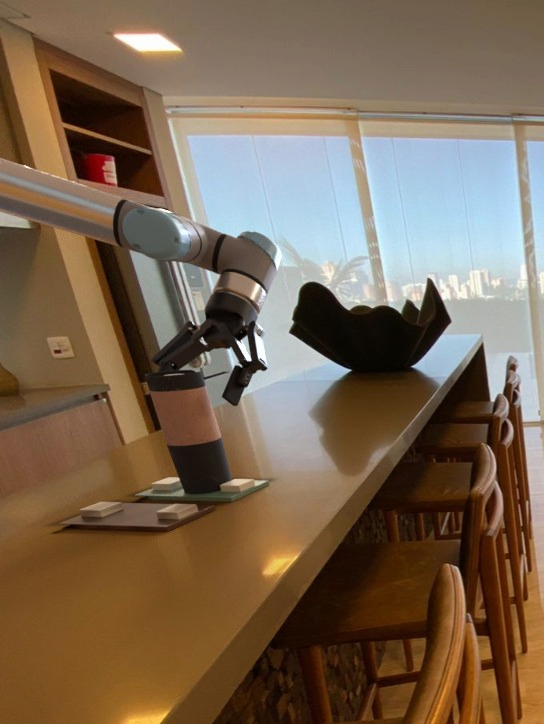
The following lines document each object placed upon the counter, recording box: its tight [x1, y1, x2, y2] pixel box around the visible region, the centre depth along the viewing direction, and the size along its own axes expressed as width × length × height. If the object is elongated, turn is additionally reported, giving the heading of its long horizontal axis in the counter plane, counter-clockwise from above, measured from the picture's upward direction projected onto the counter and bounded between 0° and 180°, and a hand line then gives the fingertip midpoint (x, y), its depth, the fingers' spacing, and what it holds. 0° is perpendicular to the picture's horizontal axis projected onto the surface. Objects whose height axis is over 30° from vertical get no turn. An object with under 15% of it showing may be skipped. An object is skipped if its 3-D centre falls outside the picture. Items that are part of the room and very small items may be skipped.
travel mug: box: [144, 369, 233, 494], centre depth 96 cm, size 8×8×20 cm
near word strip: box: [59, 501, 216, 533], centre depth 88 cm, size 18×9×2 cm, turn 85°
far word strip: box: [135, 476, 270, 503], centre depth 100 cm, size 18×9×2 cm, turn 85°
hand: (192, 401), depth 96 cm, fingers open, 13 cm apart
